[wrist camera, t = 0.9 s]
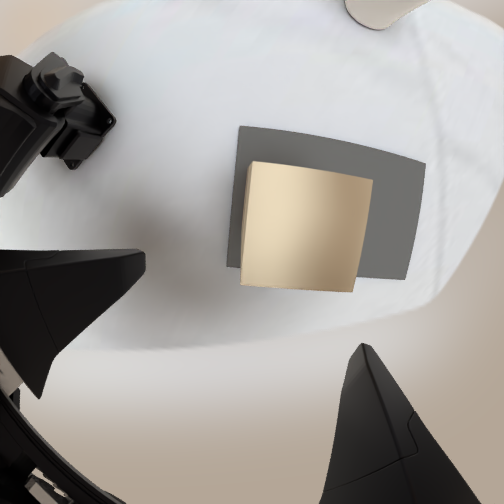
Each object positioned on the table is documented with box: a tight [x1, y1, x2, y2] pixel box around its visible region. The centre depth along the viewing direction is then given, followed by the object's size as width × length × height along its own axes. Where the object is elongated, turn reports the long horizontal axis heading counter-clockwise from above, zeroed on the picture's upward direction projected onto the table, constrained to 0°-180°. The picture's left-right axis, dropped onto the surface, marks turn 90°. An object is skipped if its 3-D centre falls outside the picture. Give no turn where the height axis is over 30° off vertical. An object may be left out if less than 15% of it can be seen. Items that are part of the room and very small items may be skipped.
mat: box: [227, 126, 426, 280], centre depth 23 cm, size 18×12×1 cm, turn 84°
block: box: [240, 161, 373, 292], centre depth 17 cm, size 5×5×12 cm
